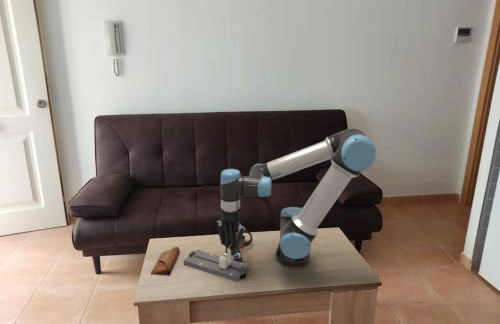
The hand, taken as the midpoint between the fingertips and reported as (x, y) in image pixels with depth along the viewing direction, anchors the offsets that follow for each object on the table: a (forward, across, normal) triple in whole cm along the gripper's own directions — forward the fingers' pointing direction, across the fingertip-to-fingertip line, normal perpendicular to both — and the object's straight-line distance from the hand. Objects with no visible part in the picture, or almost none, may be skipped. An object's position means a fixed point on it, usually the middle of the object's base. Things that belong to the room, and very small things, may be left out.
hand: (230, 261), depth 150 cm
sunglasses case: (+6, +28, +8) cm, 29 cm away
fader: (+2, +2, 0) cm, 3 cm away
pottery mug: (+5, +7, -22) cm, 23 cm away
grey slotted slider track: (+5, +7, 0) cm, 9 cm away
